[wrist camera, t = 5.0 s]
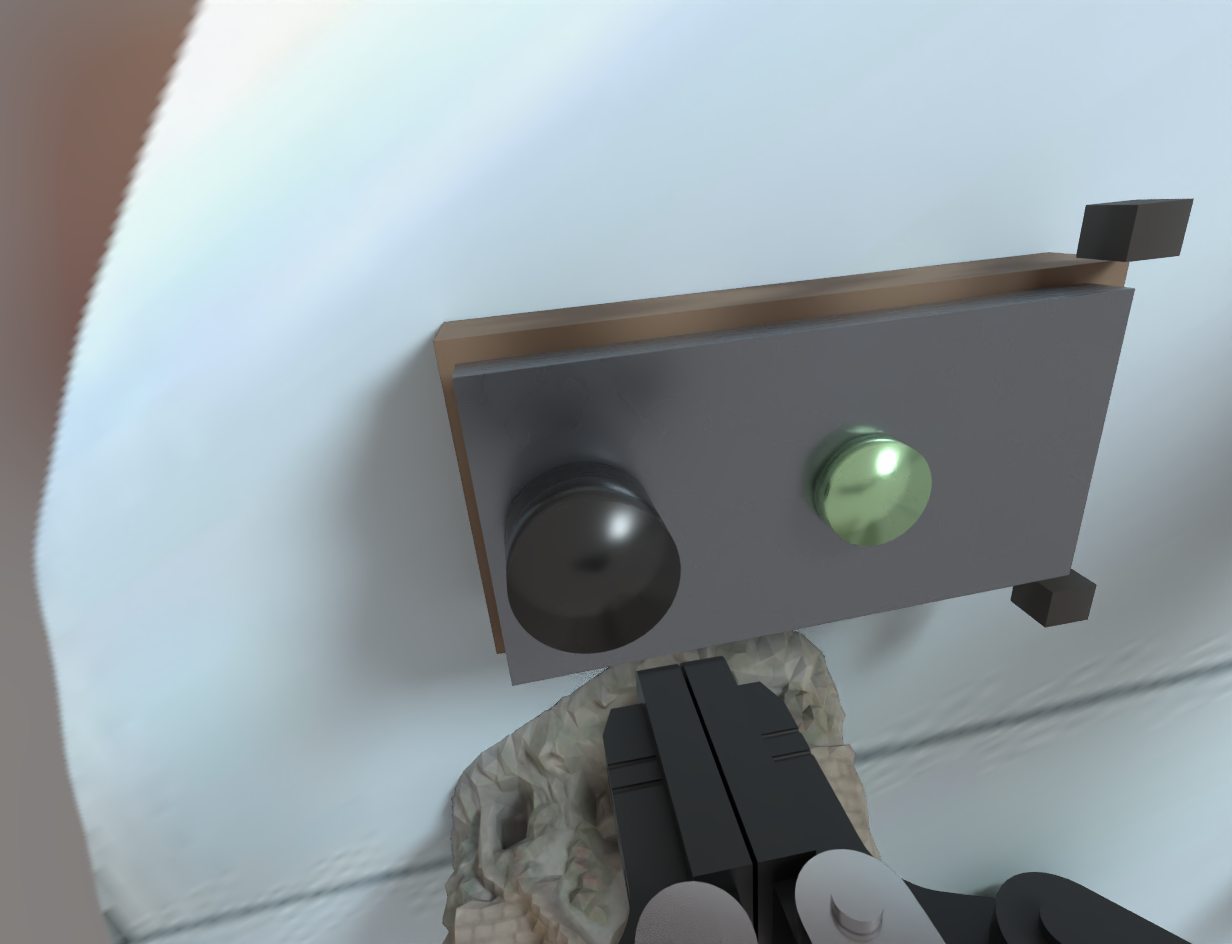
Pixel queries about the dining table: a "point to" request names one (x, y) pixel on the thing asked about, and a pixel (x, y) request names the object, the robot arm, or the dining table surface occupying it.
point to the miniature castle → (601, 801)
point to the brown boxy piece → (1100, 259)
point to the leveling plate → (784, 471)
